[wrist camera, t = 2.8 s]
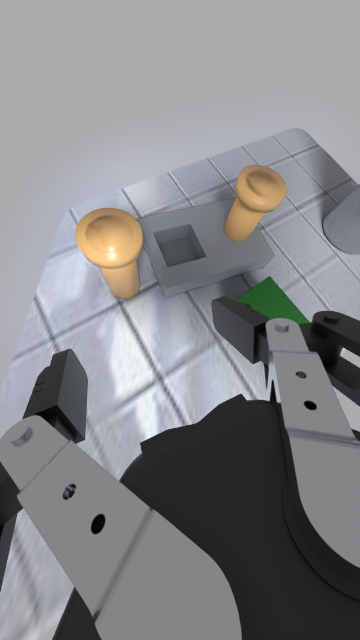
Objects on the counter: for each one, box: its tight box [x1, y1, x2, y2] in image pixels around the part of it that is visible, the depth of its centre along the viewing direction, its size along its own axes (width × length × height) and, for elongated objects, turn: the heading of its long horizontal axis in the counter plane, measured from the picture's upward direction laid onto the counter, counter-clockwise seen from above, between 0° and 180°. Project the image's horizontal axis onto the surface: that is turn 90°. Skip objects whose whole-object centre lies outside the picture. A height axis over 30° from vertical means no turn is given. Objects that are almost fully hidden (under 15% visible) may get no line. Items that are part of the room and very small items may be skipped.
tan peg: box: [75, 208, 143, 299], centre depth 22 cm, size 6×6×10 cm
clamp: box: [237, 276, 310, 324], centre depth 25 cm, size 12×6×9 cm, turn 30°
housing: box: [138, 165, 287, 298], centre depth 25 cm, size 16×11×10 cm, turn 112°
